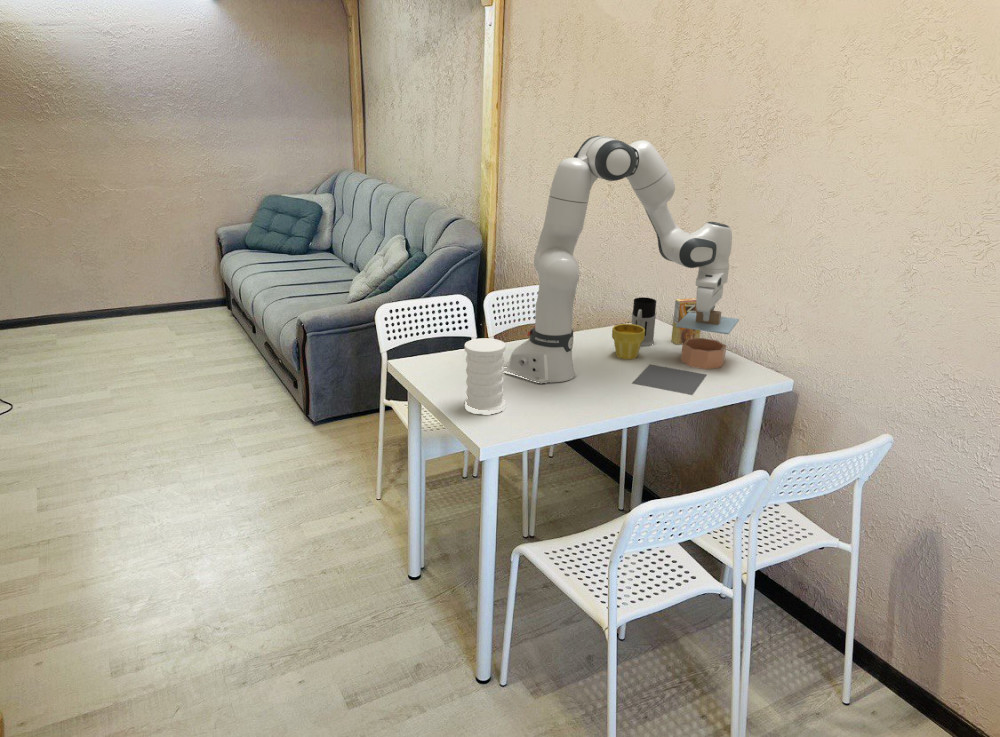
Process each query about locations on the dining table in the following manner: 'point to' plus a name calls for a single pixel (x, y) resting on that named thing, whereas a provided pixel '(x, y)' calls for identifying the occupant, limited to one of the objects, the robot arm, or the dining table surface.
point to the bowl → (703, 353)
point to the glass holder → (645, 317)
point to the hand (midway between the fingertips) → (707, 318)
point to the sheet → (708, 327)
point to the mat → (670, 379)
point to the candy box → (679, 313)
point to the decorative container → (485, 373)
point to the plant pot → (627, 340)
